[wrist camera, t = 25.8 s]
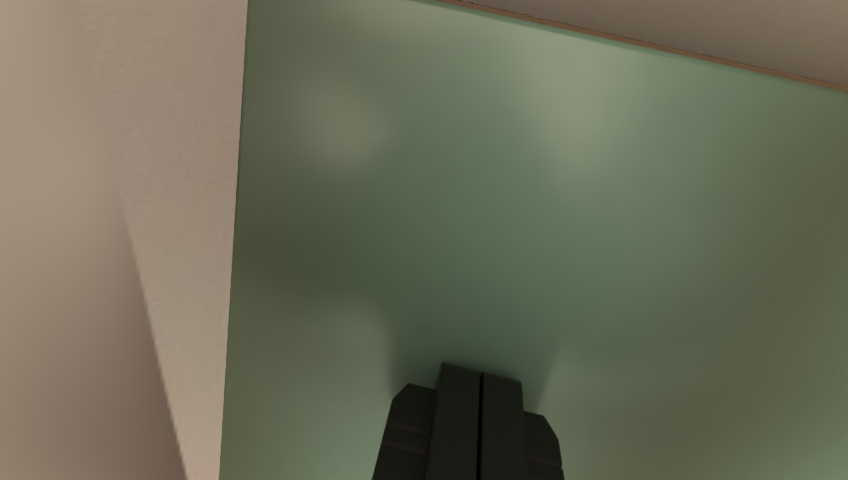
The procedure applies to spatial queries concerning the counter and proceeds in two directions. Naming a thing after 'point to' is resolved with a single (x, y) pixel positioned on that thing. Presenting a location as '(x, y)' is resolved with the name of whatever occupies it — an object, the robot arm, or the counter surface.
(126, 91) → the counter surface
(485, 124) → the green hinged lid
